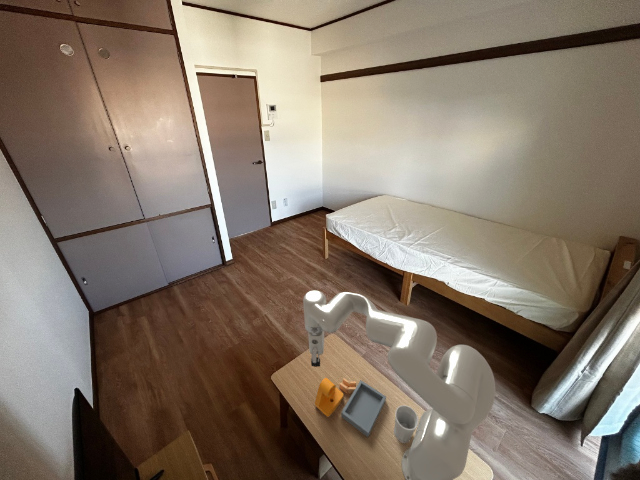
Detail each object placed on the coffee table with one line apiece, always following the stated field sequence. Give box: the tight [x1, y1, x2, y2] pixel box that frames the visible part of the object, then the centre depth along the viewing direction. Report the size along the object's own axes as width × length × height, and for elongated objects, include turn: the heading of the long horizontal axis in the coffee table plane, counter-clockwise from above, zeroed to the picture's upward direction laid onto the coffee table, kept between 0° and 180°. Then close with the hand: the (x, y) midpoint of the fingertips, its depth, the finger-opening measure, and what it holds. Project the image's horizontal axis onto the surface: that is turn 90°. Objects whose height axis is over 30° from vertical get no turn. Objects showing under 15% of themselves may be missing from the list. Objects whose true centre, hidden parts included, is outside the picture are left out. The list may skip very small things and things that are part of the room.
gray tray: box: [340, 379, 387, 438], centre depth 102 cm, size 12×16×4 cm
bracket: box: [314, 377, 344, 418], centre depth 102 cm, size 11×7×12 cm, turn 138°
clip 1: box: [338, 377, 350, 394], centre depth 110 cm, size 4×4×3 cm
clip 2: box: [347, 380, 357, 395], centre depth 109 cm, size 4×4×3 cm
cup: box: [393, 404, 420, 444], centre depth 92 cm, size 8×8×12 cm
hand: (316, 353), depth 94 cm, fingers open, 9 cm apart
